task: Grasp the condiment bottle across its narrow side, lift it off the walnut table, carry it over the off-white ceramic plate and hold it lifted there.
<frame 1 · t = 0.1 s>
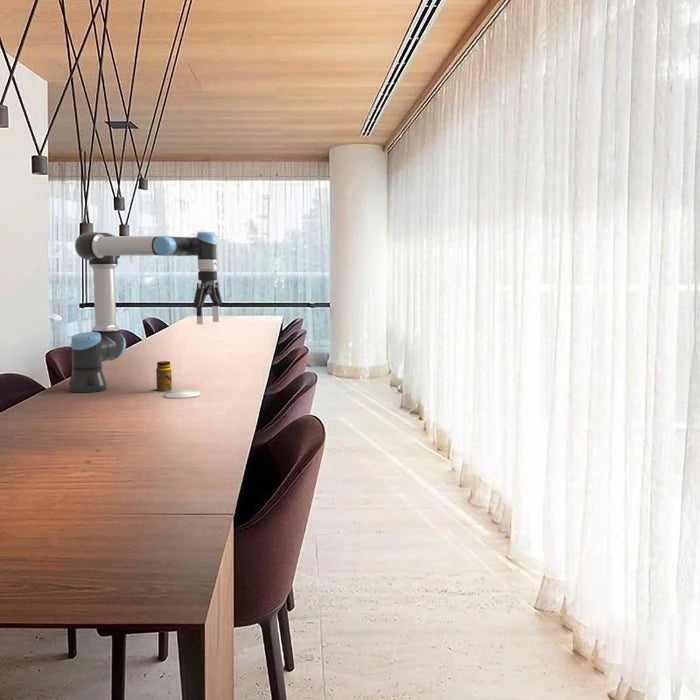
hand: (208, 323, 318), 28 cm above the table, fingers open, 13 cm apart
plate: (182, 395, 310), on the table
condiment: (162, 391, 322), on the table
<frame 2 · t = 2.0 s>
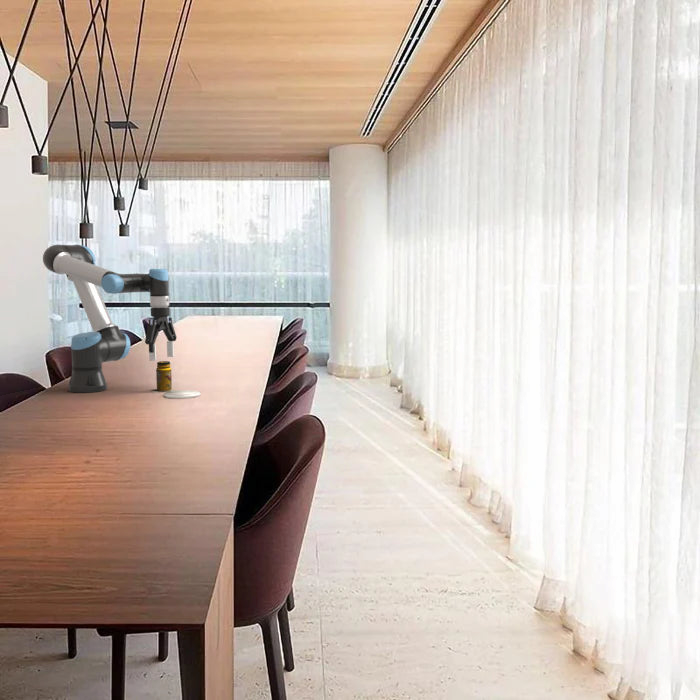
hand: (161, 358, 320), 13 cm above the table, fingers open, 13 cm apart
nothing on the table moved.
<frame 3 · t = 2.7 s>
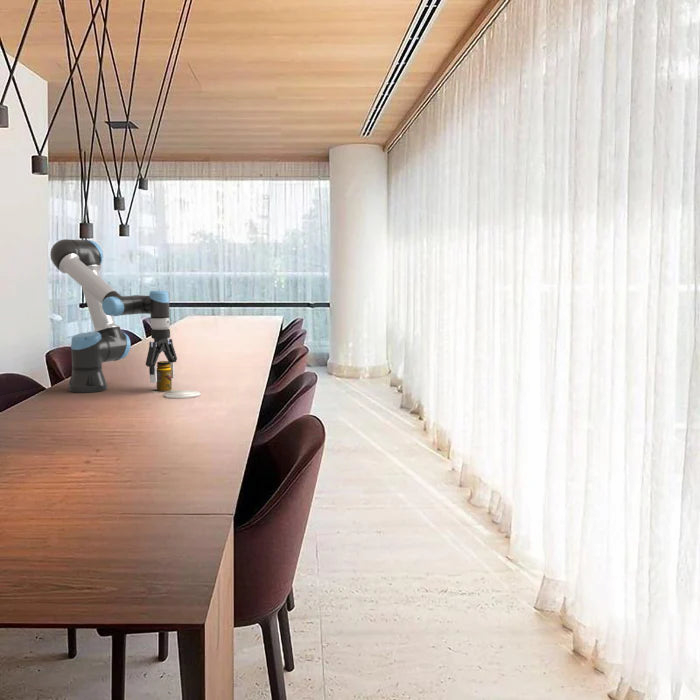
hand: (162, 380, 321), 4 cm above the table, fingers open, 13 cm apart
nothing on the table moved.
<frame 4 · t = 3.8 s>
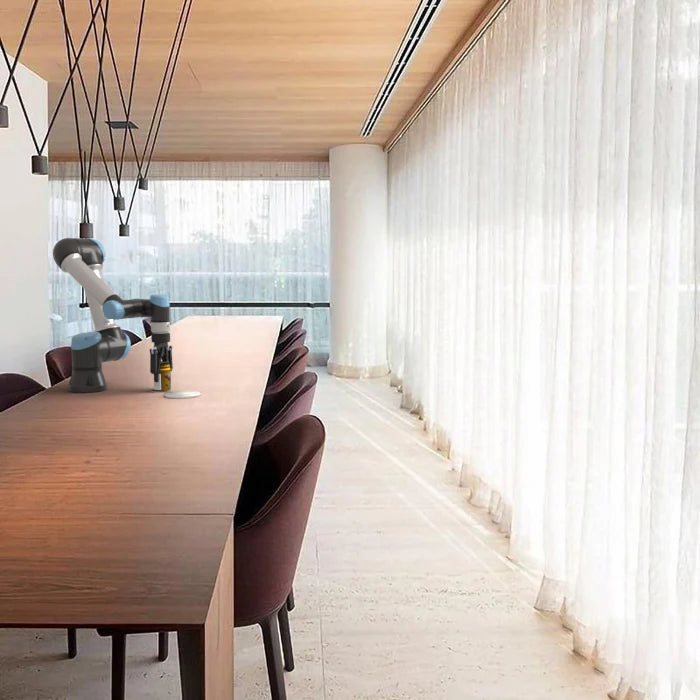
hand: (162, 388, 322), 1 cm above the table, fingers closed on condiment, 6 cm apart
condiment: (161, 391, 321), on the table, touching gripper
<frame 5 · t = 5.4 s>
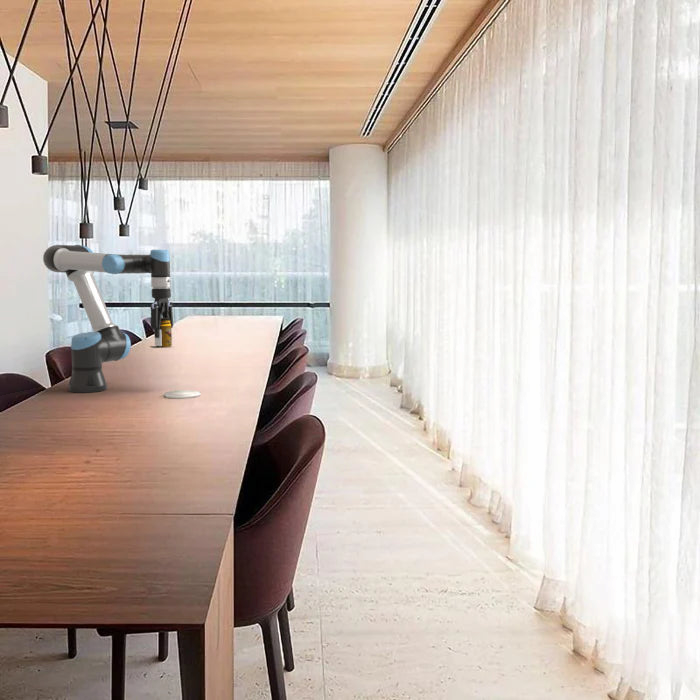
hand: (162, 344, 319), 19 cm above the table, fingers closed on condiment, 6 cm apart
condiment: (162, 347, 318), point 18 cm above the table, touching gripper
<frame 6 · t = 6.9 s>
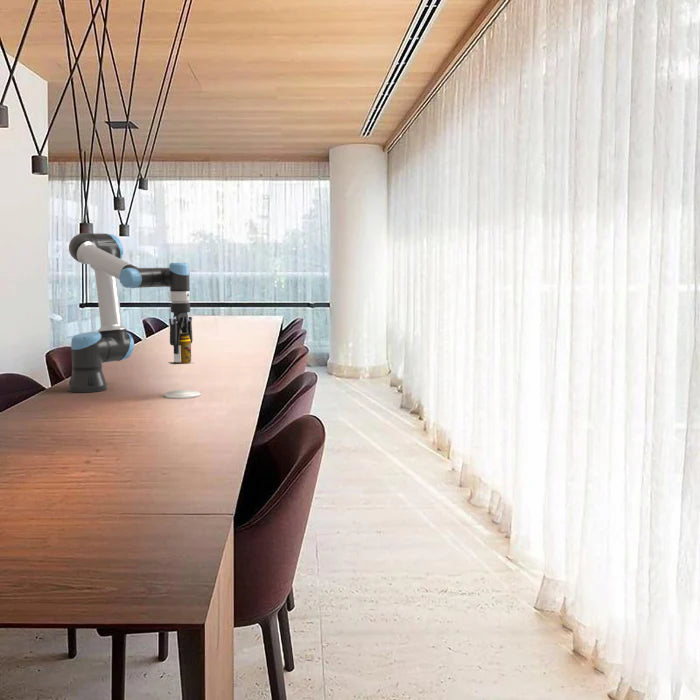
hand: (182, 360, 308), 14 cm above the table, fingers closed on condiment, 6 cm apart
condiment: (181, 363, 308), point 13 cm above the table, touching gripper
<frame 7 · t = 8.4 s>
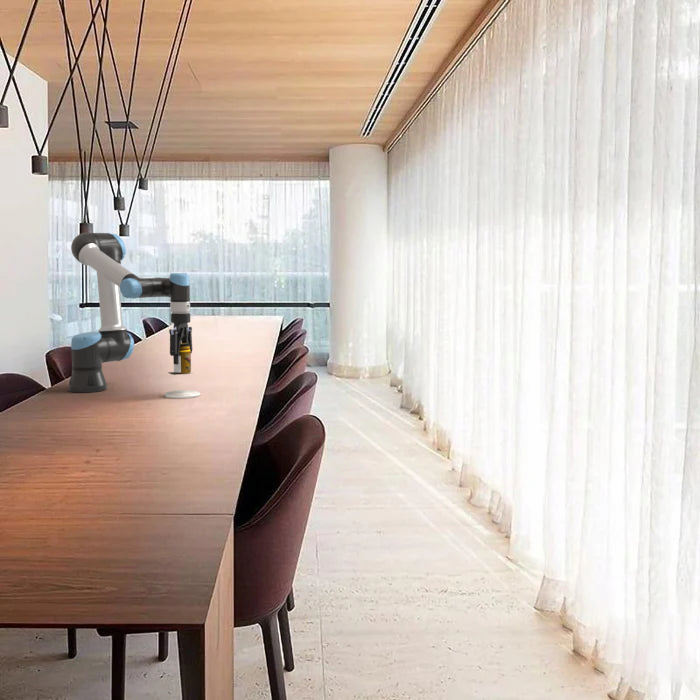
hand: (181, 371, 309), 10 cm above the table, fingers closed on condiment, 6 cm apart
condiment: (181, 374, 308), point 9 cm above the table, touching gripper
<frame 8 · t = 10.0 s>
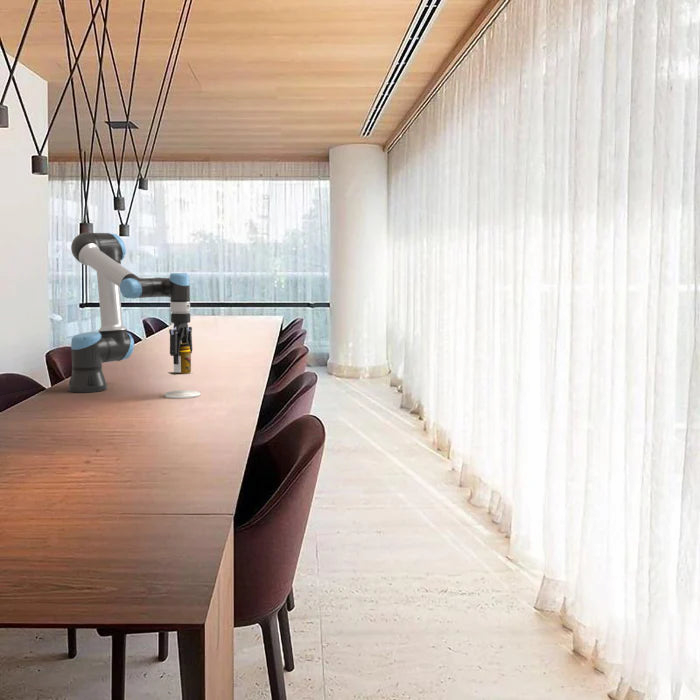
hand: (181, 371, 309), 10 cm above the table, fingers closed on condiment, 6 cm apart
condiment: (181, 374, 308), point 9 cm above the table, touching gripper
at the end: the gripper is holding condiment; condiment point 8.7 cm above the table; condiment 0.6 cm from the plate (horizontally) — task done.
